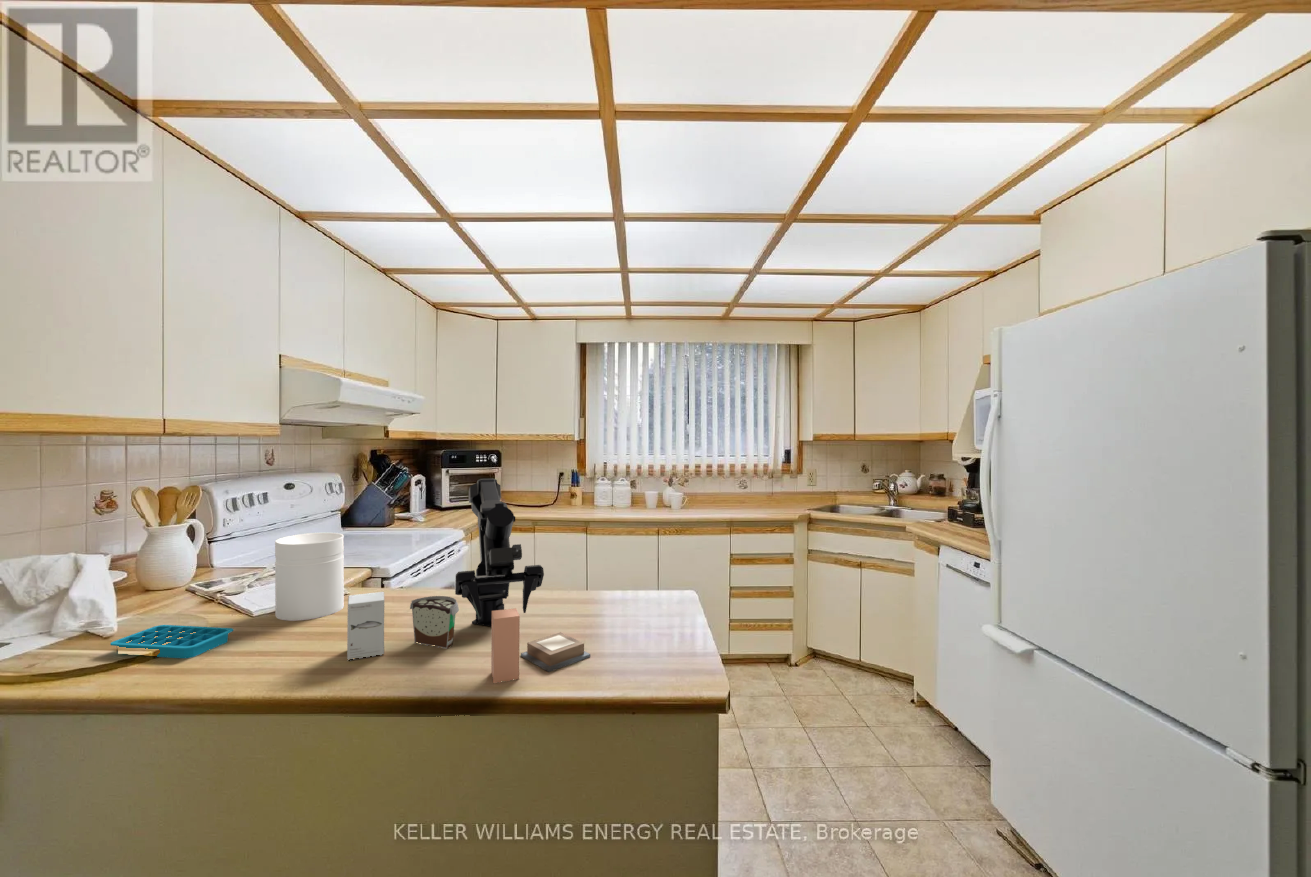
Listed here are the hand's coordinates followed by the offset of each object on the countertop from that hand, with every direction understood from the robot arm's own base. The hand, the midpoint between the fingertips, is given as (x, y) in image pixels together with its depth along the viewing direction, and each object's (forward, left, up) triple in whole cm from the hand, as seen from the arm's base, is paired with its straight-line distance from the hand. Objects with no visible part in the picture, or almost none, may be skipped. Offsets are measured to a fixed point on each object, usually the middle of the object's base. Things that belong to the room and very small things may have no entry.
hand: (502, 614), depth 116 cm
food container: (-22, +7, -11) cm, 26 cm away
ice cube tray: (-76, -17, -12) cm, 79 cm away
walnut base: (+8, +9, -11) cm, 16 cm away
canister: (-70, +12, -11) cm, 72 cm away
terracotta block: (+3, -3, -11) cm, 12 cm away
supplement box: (-33, -4, -11) cm, 35 cm away
